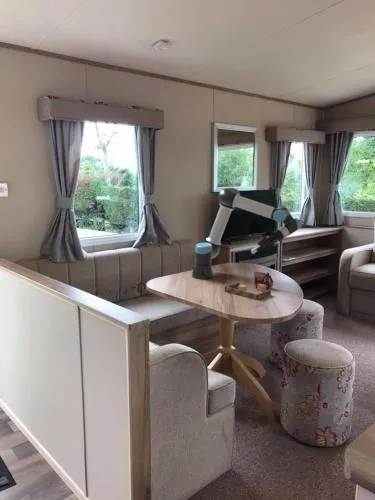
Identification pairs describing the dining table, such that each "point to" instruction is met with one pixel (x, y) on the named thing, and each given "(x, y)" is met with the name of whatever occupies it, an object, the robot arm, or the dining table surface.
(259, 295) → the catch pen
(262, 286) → the tan cube
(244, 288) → the light brown cube
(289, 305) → the dining table surface
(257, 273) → the toy fire truck
